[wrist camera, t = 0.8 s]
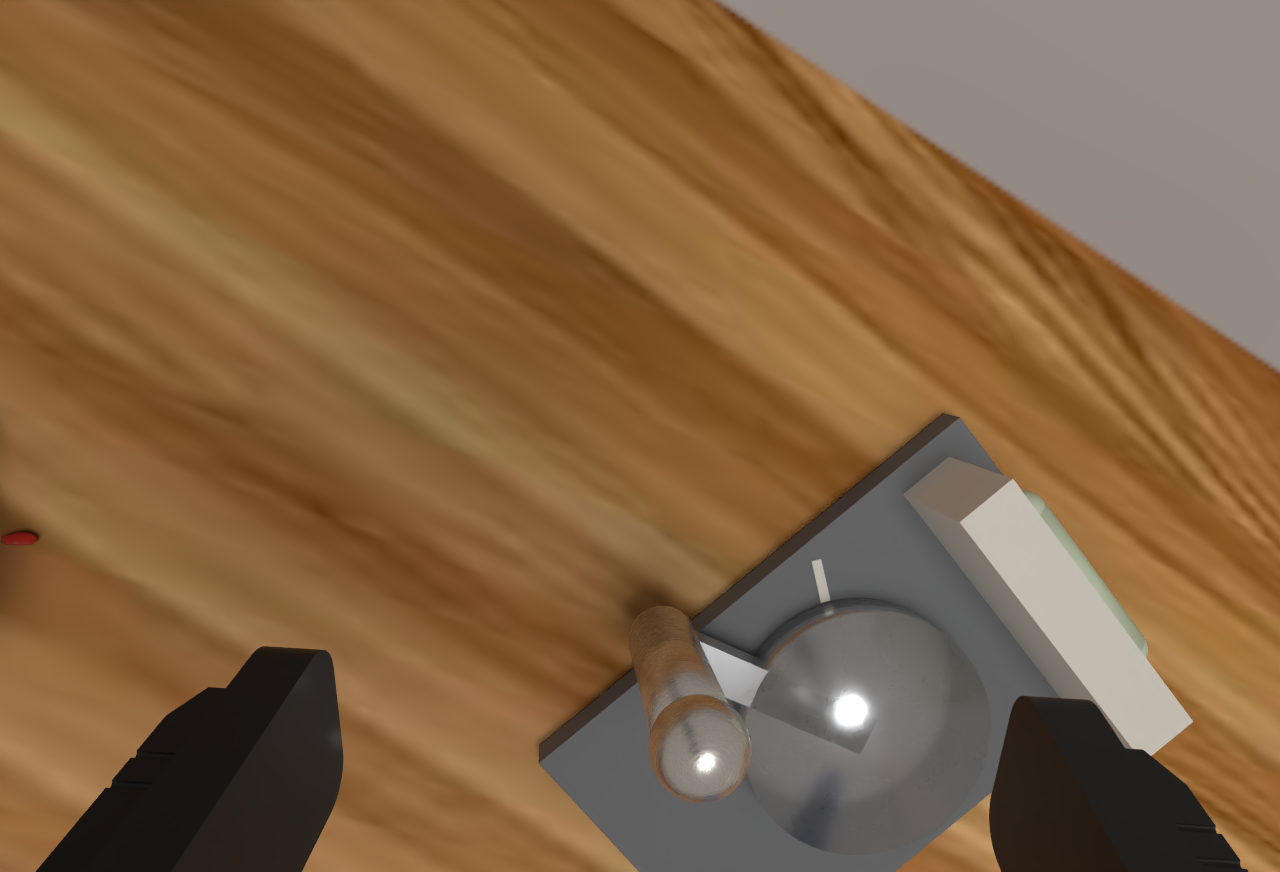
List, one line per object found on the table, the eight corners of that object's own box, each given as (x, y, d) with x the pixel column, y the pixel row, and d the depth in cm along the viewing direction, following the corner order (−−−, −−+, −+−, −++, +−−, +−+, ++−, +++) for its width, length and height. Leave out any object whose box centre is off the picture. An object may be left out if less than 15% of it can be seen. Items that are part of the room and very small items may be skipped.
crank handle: (571, 725, 36) (580, 911, 24) (679, 503, 35) (741, 591, 24) (899, 860, 38) (1045, 1086, 27) (1008, 655, 37) (1205, 799, 26)
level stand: (539, 745, 37) (537, 834, 31) (943, 413, 37) (1025, 433, 31) (741, 965, 39) (779, 1090, 33) (1122, 653, 39) (1234, 718, 33)
